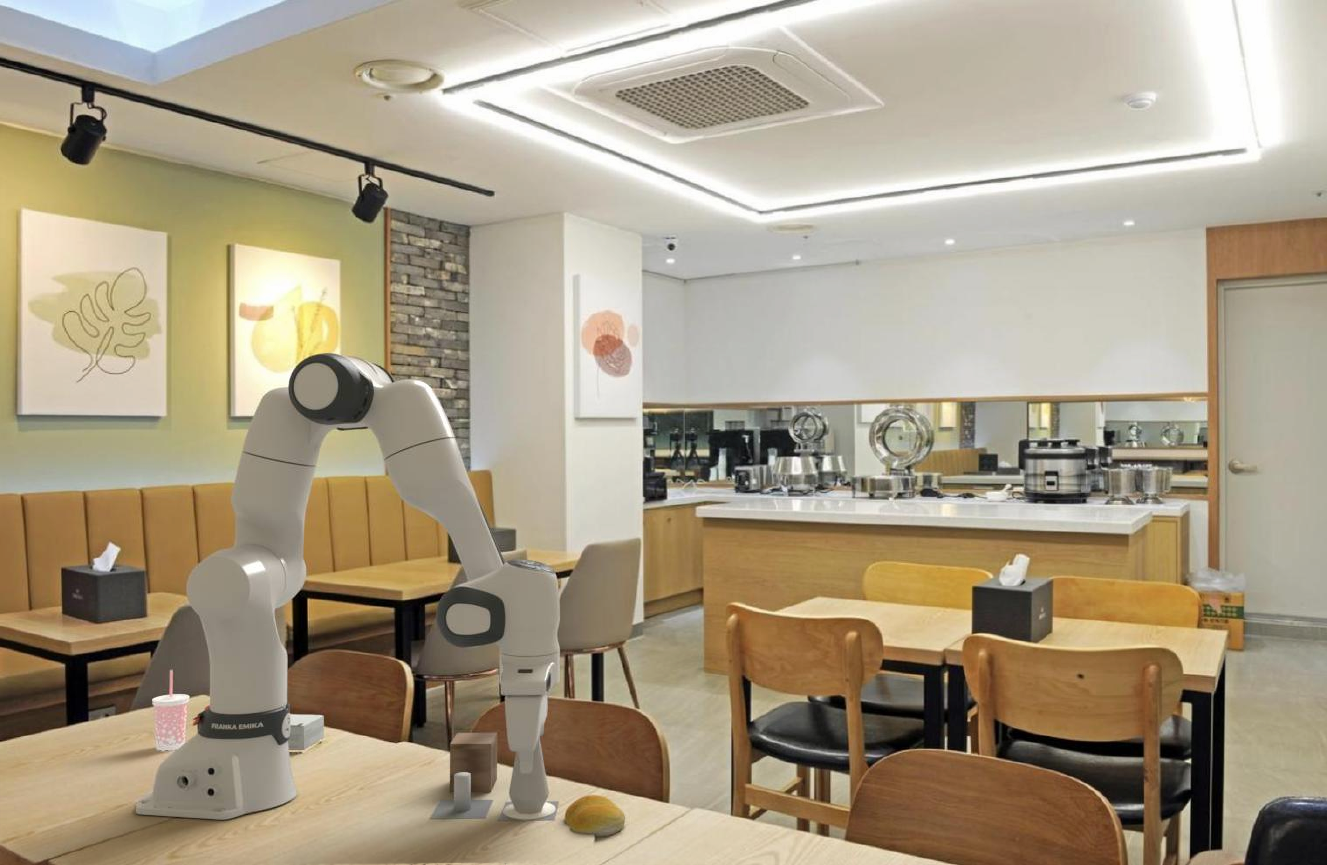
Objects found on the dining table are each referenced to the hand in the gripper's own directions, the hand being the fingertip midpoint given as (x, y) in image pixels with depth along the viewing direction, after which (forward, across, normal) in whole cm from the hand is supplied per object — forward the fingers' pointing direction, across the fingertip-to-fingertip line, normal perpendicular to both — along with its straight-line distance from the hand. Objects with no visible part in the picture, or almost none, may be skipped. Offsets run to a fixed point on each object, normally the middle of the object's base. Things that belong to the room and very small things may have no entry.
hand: (529, 765), depth 149 cm
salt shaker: (+6, 0, 0) cm, 6 cm away
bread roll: (+8, +5, +10) cm, 13 cm away
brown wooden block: (+7, -12, -10) cm, 17 cm away
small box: (+8, -37, -47) cm, 60 cm away
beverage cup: (+8, -37, -69) cm, 79 cm away
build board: (+7, 0, 0) cm, 7 cm away
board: (+7, -1, -10) cm, 12 cm away
